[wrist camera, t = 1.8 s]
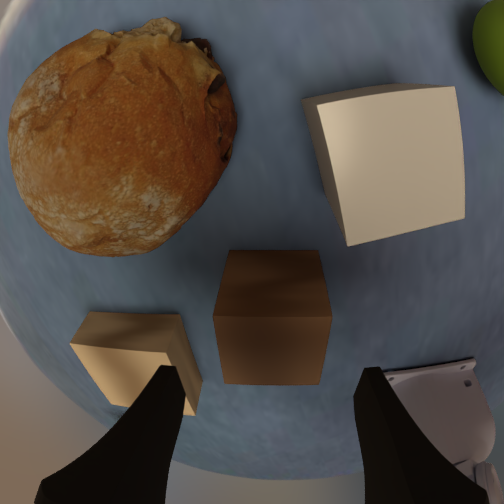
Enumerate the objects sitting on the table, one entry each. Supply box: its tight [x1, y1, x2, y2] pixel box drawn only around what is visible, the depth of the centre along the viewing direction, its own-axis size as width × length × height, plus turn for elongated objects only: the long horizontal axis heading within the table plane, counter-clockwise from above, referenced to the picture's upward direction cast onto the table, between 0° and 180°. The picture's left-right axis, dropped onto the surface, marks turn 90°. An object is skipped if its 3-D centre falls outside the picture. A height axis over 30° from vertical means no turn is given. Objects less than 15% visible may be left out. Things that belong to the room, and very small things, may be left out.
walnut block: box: [213, 250, 332, 385], centre depth 14 cm, size 4×4×5 cm
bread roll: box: [8, 17, 237, 257], centre depth 11 cm, size 10×10×8 cm
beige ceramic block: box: [301, 83, 465, 247], centre depth 10 cm, size 4×4×5 cm
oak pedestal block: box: [70, 311, 203, 416], centre depth 19 cm, size 7×7×4 cm
